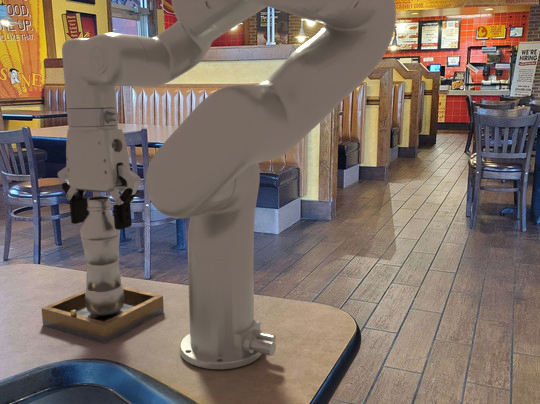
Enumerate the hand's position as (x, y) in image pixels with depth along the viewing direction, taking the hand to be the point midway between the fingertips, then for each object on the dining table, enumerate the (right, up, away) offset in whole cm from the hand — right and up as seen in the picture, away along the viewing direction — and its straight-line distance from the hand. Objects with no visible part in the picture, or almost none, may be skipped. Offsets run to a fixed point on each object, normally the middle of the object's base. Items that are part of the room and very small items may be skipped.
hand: (101, 224), depth 88 cm
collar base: (0, -16, +3) cm, 17 cm away
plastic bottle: (0, -15, +3) cm, 16 cm away
